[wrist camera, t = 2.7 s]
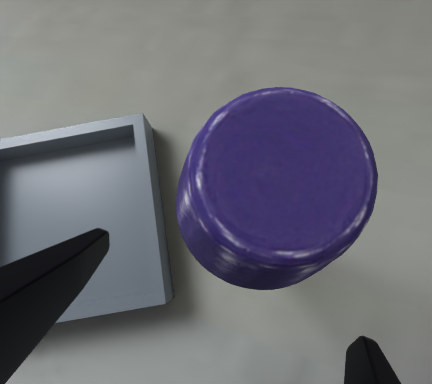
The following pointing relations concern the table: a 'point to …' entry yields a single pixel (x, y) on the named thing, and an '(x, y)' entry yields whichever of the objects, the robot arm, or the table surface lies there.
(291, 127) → the toy lamp
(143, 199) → the desk tray
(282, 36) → the table surface
